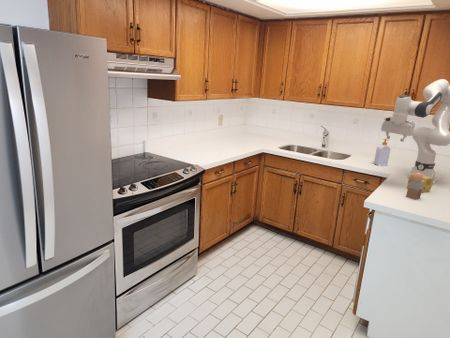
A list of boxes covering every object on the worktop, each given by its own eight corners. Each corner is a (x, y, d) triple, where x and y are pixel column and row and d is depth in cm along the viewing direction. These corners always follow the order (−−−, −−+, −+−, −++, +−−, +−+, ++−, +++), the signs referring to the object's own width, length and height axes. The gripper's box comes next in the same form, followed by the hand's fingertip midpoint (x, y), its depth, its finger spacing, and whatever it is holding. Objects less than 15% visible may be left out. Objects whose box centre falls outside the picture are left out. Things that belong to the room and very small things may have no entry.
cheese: (420, 193, 211) (423, 178, 208) (405, 187, 221) (408, 174, 218) (430, 192, 215) (434, 177, 213) (415, 186, 225) (419, 173, 222)
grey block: (412, 186, 204) (414, 179, 202) (421, 189, 200) (423, 181, 199) (409, 188, 201) (411, 180, 199) (417, 190, 197) (419, 182, 196)
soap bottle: (378, 166, 276) (383, 139, 270) (373, 163, 282) (378, 138, 276) (387, 166, 277) (393, 140, 271) (382, 164, 284) (388, 138, 277)
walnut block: (409, 195, 206) (412, 186, 205) (419, 198, 202) (422, 189, 200) (405, 196, 203) (407, 187, 201) (415, 199, 198) (418, 190, 196)
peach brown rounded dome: (414, 179, 203) (416, 171, 201) (422, 181, 199) (424, 173, 197) (410, 180, 200) (412, 172, 198) (419, 182, 196) (421, 174, 194)
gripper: (417, 122, 210) (412, 142, 213) (386, 117, 225) (382, 137, 229) (413, 122, 206) (408, 143, 210) (382, 117, 221) (378, 137, 225)
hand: (394, 140), depth 219 cm, fingers open, 8 cm apart
